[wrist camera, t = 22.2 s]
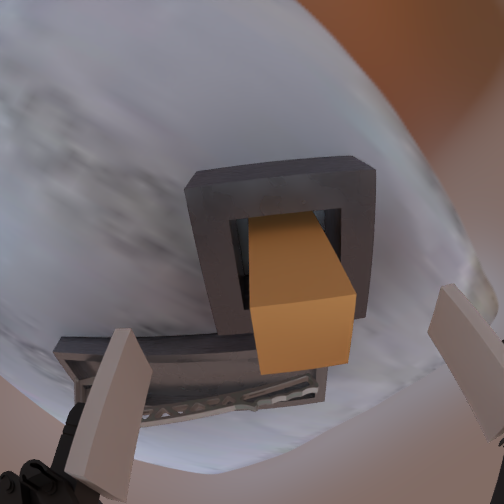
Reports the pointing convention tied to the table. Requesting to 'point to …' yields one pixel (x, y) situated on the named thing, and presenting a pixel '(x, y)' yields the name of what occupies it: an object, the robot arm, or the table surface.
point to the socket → (272, 203)
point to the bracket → (211, 400)
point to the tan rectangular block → (297, 295)
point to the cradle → (191, 367)
